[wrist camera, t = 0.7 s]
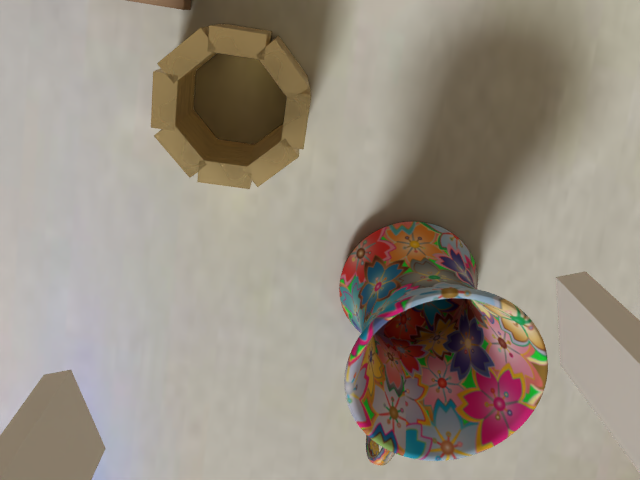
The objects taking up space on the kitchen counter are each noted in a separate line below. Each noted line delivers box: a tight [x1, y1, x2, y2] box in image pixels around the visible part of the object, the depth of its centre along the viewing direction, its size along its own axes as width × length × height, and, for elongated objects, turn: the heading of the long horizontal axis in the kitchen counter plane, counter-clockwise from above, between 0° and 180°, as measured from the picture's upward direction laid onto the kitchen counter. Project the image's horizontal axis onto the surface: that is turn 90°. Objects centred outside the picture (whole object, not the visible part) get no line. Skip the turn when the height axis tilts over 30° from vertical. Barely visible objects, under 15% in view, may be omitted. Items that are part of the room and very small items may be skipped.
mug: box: [339, 222, 548, 465], centre depth 31 cm, size 12×9×11 cm
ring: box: [151, 24, 311, 189], centre depth 29 cm, size 7×7×5 cm
